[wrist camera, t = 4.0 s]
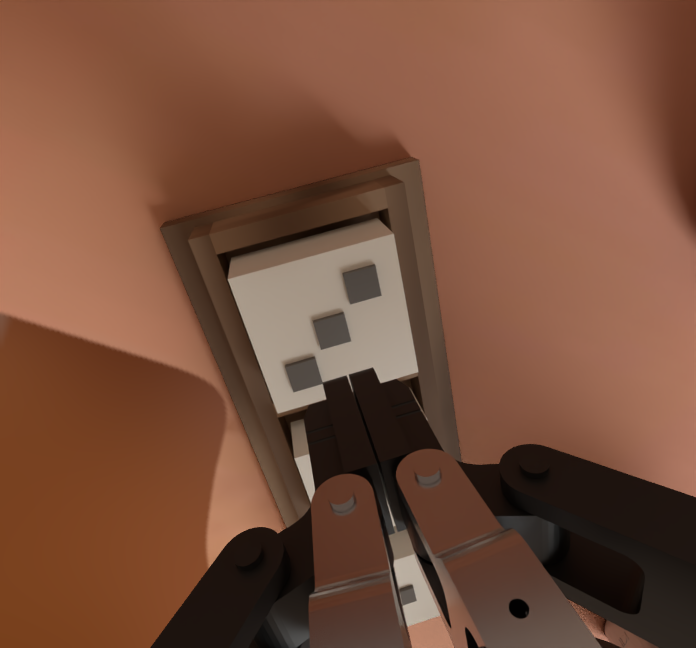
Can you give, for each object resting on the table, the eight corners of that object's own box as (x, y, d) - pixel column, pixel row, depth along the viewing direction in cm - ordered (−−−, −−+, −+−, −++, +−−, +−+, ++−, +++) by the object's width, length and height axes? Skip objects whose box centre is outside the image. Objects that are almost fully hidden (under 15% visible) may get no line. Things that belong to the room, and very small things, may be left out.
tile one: (432, 505, 26) (450, 546, 24) (445, 570, 29) (462, 612, 27) (331, 537, 26) (339, 581, 23) (354, 599, 29) (363, 645, 26)
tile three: (377, 217, 18) (395, 235, 16) (401, 343, 21) (420, 374, 19) (230, 257, 18) (227, 281, 16) (275, 380, 21) (277, 416, 18)
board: (411, 157, 20) (435, 165, 17) (468, 539, 32) (487, 579, 29) (164, 222, 19) (149, 241, 17) (316, 588, 31) (322, 633, 29)
